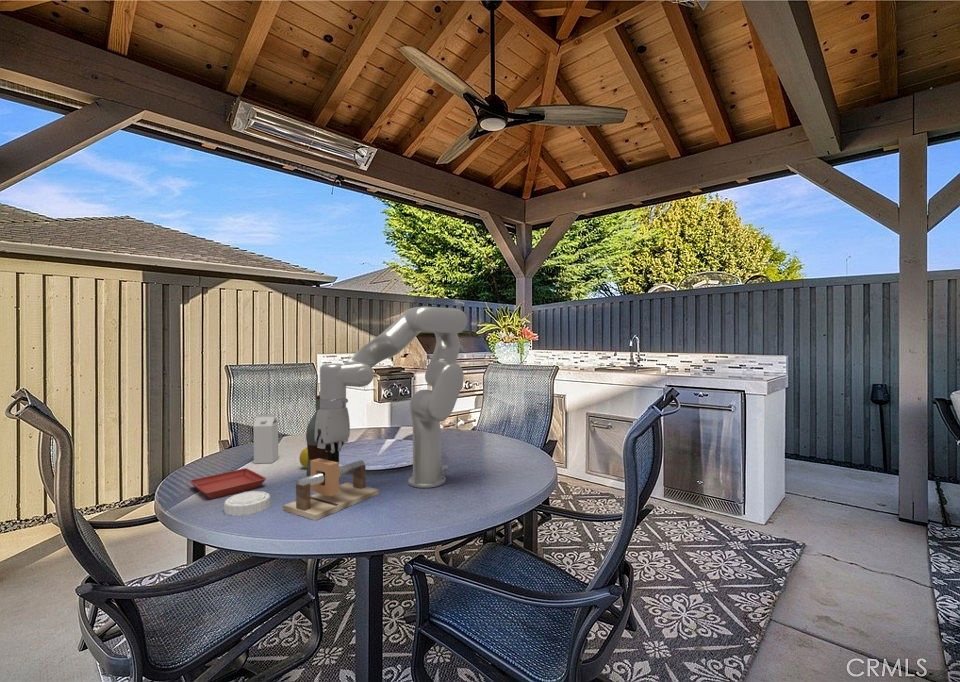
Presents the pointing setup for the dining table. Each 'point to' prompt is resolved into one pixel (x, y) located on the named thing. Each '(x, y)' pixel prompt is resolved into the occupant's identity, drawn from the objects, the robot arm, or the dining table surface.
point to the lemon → (304, 457)
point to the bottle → (311, 444)
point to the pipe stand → (330, 498)
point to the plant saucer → (228, 483)
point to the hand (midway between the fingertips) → (333, 464)
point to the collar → (326, 476)
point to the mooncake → (247, 503)
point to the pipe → (320, 476)
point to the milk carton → (265, 438)
